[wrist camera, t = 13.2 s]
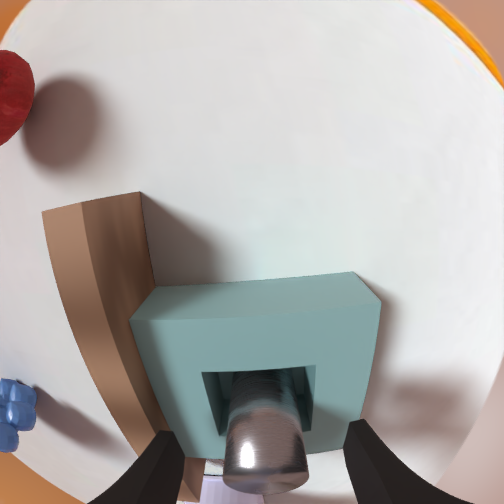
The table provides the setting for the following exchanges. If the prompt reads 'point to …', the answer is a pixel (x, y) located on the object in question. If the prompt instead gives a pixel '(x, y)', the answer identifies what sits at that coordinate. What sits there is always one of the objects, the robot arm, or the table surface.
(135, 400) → the wall
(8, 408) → the grapes
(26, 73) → the onion
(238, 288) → the block
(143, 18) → the table surface
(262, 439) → the dowel
